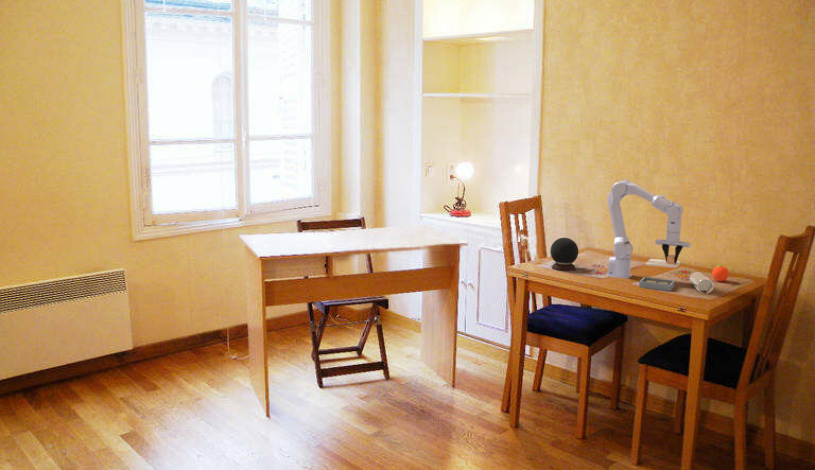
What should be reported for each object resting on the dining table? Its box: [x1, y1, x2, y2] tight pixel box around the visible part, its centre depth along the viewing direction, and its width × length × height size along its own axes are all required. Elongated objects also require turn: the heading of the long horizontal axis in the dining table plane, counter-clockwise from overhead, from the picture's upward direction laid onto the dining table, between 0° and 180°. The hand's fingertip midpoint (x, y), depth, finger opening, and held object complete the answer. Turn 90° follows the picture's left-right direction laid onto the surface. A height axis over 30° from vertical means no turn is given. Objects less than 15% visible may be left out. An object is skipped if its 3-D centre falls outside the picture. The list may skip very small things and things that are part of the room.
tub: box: [638, 276, 676, 292], centre depth 327 cm, size 13×10×3 cm
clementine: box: [711, 265, 730, 282], centre depth 340 cm, size 8×7×7 cm
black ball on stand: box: [549, 237, 579, 272], centre depth 360 cm, size 13×13×15 cm
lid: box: [645, 254, 681, 269], centre depth 334 cm, size 13×10×4 cm
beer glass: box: [689, 271, 714, 294], centre depth 324 cm, size 7×7×15 cm
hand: (671, 261), depth 333 cm, fingers closed on lid, 3 cm apart
